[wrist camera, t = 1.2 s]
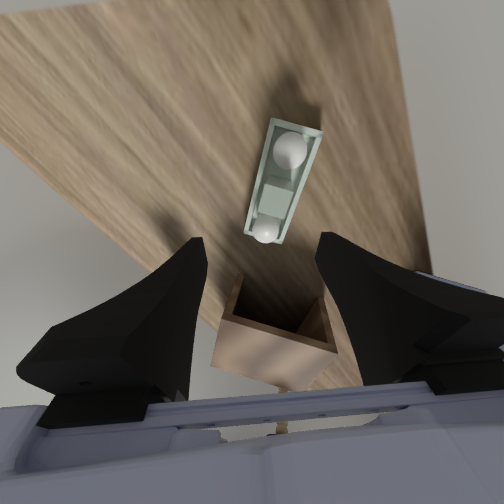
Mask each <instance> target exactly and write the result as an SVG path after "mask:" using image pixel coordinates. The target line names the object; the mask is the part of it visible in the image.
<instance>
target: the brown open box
mask: <svg viewBox="0 0 504 504" xmlns="http://www.w3.org/2000/svg"><path fill="white" fill-rule="evenodd" d="M243 279H244V275H241V274H238V276H237V279H236V281H235V284H234V286H233V289H232V292H231V294H230V297H229V299H228V302H227V305H226V307H225V310H224V312H223V315H222V318H221V321H220V326H219V330H218V334H217V339H216V343H215V348H214V352H213V356H212V361H211V365H210V366H213V367H216V368H219V369H222V370H225V371H229V372H232V373H235V374H238V375H242V376H245V377H248V378H251V379H254V380H258V381H261V382H264V383H267V384H270V385H274V386H277V387H280V388H283V389H287V390H290V391H293V392H300V391H305V390H306V389H307V388H308V387H309V386H310V385H311V384H312V382H313V381H314V380H315V379H316V378H317V377H318V376H319V375H320V374H321V373H322V372H323V370H324V369H325V368H326V367H327V366H328V365H329V364H330V363H331V362H332V361H333V359H334V358H335V357H336V356H337V355H338V352H337V348H336V344H335V340H334V336H333V332H332V328H331V325H330V321H329V317H328V313H327V309H326V305H325V302H324V299H322V298H317V299H316V301H315V303H314V304H313V306H312V308H311V309H310V311H309V312H308V314H307V316H306V317H305V319H304V321H303V322H302V324H301V326H300V327H299V329H298V330H297V332H296V334H295V333H291V332H288V331H285V330H282V329H278V328H275V327H272V326H268V325H265V324H262V323H258V322H255V321H252V320H249V319H245V318H242V317H239V316H235V315H233V314H234V311H235V307H236V304H237V300H238V297H239V293H240V289H241V286H242V282H243Z"/></svg>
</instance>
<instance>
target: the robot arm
mask: <svg viewBox="0 0 504 504" xmlns="http://www.w3.org/2000/svg"><path fill="white" fill-rule="evenodd" d="M315 261H316V264H317V267H318V269H319V272H320V274H321V276H322V278H323V280H324V282H325V284H326V286H327V287H328V289H329V291H330V293H331V295H332V297H333V299H334V301H335V303H336V305H337V307H338V309H339V312H340V314H341V317H342V319H343V322H344V324H345V327H346V330H347V333H348V336H349V338H350V341H351V344H352V347H353V350H354V354H355V357H356V360H357V363H358V367H359V370H360V374H361V377H362V381H363V385H364V386H360V387H348V388H336V389H324V390H312V391H300V392H288V393H277V394H265V395H253V396H240V397H229V398H216V399H204V400H193V401H188V397H189V385H190V373H191V363H192V353H193V343H194V336H195V328H196V321H197V315H198V310H199V306H200V302H201V298H202V294H203V290H204V286H205V281H206V277H207V267H208V262H207V257H206V252H205V247H204V243H203V238H202V237H192V238H191V239H190V240H189V241H188V242H187V243H185V244H184V245H183V246H182V247H181V248H180V249H179V250H178V251H177V252H176V253H175V254H174V255H173V256H172V257H171V258H170V259H168V260H167V261H166V262H165V263H164V264H162V265H161V266H160V267H159V268H158V269H156V270H155V271H154V272H152V273H151V274H150V275H149V276H147V277H146V278H144V279H143V280H141V281H140V282H138V283H137V284H135V285H133V286H132V287H130V288H128V289H127V290H125V291H124V292H122V293H120V294H119V295H117V296H115V297H114V298H111V299H109V300H108V301H106V302H104V303H102V304H100V305H98V306H96V307H94V308H92V309H90V310H88V311H86V312H84V313H81V314H79V315H77V316H75V317H73V318H71V319H68V320H66V321H64V322H62V323H60V324H57V325H55V326H52V327H51V328H50V329H49V330H48V331H47V332H46V334H45V335H44V336H43V337H42V338H41V339H40V340H39V342H38V343H37V344H36V345H35V346H34V347H33V348H32V350H31V351H30V352H29V353H28V354H27V355H26V356H25V357H24V359H23V360H22V361H21V362H20V363H19V364H18V366H17V367H16V372H17V375H18V376H19V377H20V378H21V379H22V380H24V381H26V382H28V383H30V384H32V385H34V386H36V387H39V388H41V389H43V390H45V391H47V392H50V393H52V394H54V395H55V397H54V398H53V400H52V401H51V403H50V404H49V406H45V405H27V406H15V407H2V408H0V504H504V298H502V297H498V296H494V295H490V294H488V293H487V292H486V291H484V290H481V289H477V288H474V287H471V286H467V285H464V284H460V283H457V282H453V281H450V280H446V279H443V278H440V277H436V276H433V275H430V274H426V273H423V272H419V271H416V272H413V271H410V270H408V269H405V268H403V267H400V266H398V265H396V264H393V263H391V262H389V261H386V260H384V259H382V258H380V257H378V256H376V255H374V254H372V253H370V252H368V251H366V250H365V249H363V248H361V247H359V246H357V245H355V244H354V243H352V242H350V241H348V240H347V239H345V238H343V237H341V236H339V235H337V234H335V233H333V232H322V233H321V237H320V240H319V244H318V248H317V252H316V255H315ZM392 411H393V412H392ZM381 412H389V413H384V414H380V415H379V416H378V417H377V418H376V419H375V420H373V421H371V422H369V423H367V424H364V425H362V426H353V427H340V428H331V429H319V430H310V431H302V432H294V433H286V434H279V435H272V436H264V437H258V438H251V439H245V440H238V441H232V442H228V441H227V440H226V439H223V438H220V437H221V436H220V435H221V433H220V431H219V430H202V429H205V428H217V427H227V426H239V425H250V424H261V423H272V422H283V421H294V420H305V419H315V418H326V417H337V416H348V415H359V414H370V413H381Z"/></svg>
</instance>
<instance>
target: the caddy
mask: <svg viewBox="0 0 504 504" xmlns="http://www.w3.org/2000/svg"><path fill="white" fill-rule="evenodd" d="M323 134H324V132H323V131H319V130H315V129H312V128H308V127H305V126H301V125H298V124H294V123H291V122H287V121H283V120H280V119H276V118H273V117H271V119H270V124H269V128H268V132H267V136H266V140H265V145H264V149H263V153H262V157H261V161H260V166H259V170H258V174H257V178H256V182H255V187H254V191H253V195H252V199H251V203H250V208H249V212H248V216H247V220H246V224H245V229H244V234H248V235H251V236H254V237H255V239H256V240H258V241H259V242H261V243H270V242H275V243H278V244H282V242H283V240H284V237H285V234H286V232H287V229H288V227H289V224H290V221H291V219H292V216H293V213H294V211H295V208H296V205H297V203H298V200H299V197H300V195H301V192H302V189H303V187H304V184H305V182H306V179H307V176H308V174H309V171H310V168H311V166H312V163H313V160H314V158H315V155H316V152H317V150H318V147H319V144H320V142H321V139H322V137H323Z"/></svg>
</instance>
